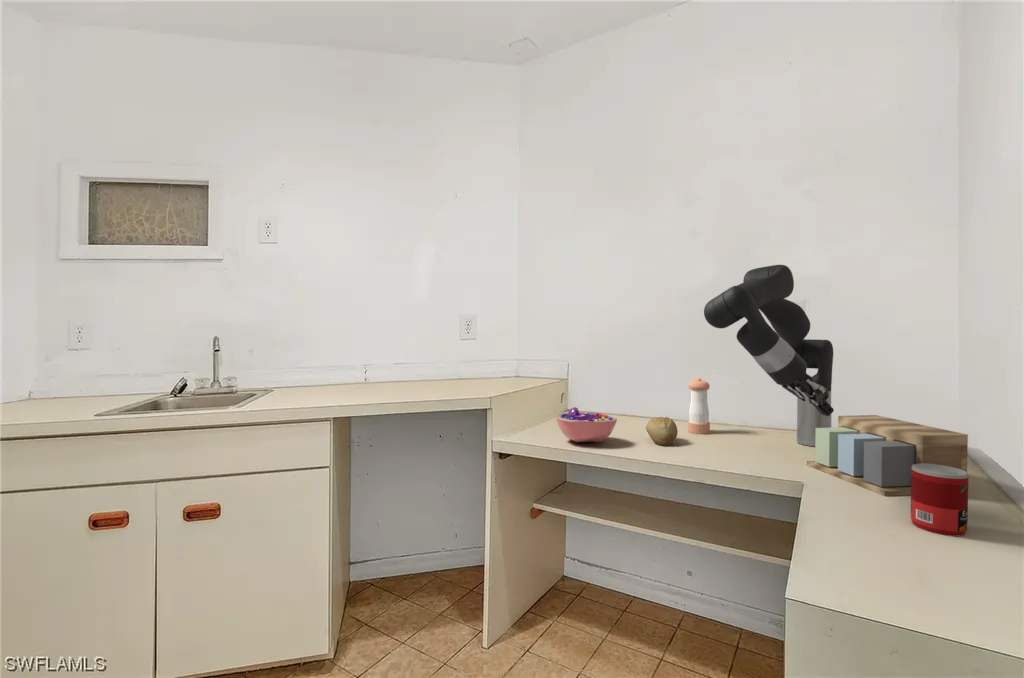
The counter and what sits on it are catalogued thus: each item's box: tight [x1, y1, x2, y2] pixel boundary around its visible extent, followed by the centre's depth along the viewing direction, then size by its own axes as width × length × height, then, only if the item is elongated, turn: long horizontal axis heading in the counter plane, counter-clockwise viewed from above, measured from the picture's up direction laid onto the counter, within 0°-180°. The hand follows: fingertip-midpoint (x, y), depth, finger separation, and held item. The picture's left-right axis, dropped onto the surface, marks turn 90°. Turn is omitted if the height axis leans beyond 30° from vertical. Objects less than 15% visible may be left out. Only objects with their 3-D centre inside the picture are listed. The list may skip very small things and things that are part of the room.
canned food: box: [910, 463, 969, 537], centre depth 91 cm, size 8×8×11 cm
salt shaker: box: [687, 377, 711, 435], centre depth 176 cm, size 7×7×19 cm
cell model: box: [555, 406, 618, 443], centre depth 161 cm, size 17×20×11 cm
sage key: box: [814, 426, 860, 467], centre depth 129 cm, size 5×10×9 cm, turn 96°
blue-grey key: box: [838, 434, 886, 476], centre depth 121 cm, size 5×10×9 cm, turn 96°
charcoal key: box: [864, 441, 916, 487], centre depth 113 cm, size 5×10×9 cm, turn 95°
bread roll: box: [645, 416, 679, 447], centre depth 162 cm, size 10×15×8 cm, turn 176°
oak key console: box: [806, 414, 969, 497], centre depth 122 cm, size 25×20×13 cm
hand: (828, 412), depth 112 cm, fingers closed
